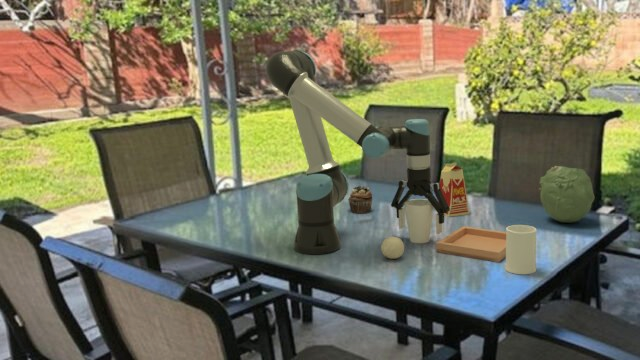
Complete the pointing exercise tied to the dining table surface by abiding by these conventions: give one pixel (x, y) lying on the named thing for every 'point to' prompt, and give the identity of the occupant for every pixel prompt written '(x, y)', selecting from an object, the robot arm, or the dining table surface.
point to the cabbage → (566, 193)
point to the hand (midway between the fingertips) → (420, 230)
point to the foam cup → (419, 219)
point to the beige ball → (392, 247)
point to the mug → (520, 249)
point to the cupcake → (360, 200)
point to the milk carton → (454, 190)
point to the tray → (475, 244)
